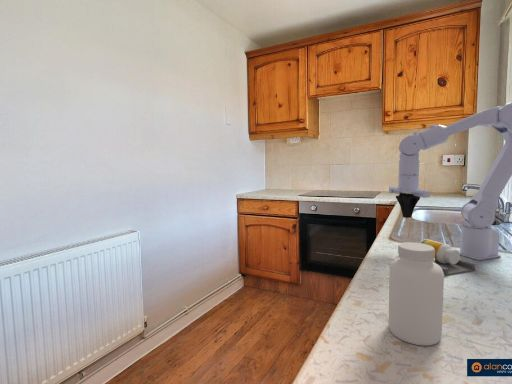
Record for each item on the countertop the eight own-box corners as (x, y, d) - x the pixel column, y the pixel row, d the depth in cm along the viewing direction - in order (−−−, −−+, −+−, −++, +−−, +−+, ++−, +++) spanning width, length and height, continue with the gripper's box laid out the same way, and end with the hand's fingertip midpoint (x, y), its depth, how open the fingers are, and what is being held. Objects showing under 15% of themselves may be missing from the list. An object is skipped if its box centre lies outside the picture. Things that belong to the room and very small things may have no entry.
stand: (437, 257, 88) (437, 252, 88) (474, 270, 78) (475, 264, 78) (410, 261, 85) (410, 256, 85) (445, 275, 75) (445, 269, 75)
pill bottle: (379, 321, 54) (381, 240, 53) (421, 319, 55) (424, 239, 53) (404, 349, 46) (407, 254, 45) (453, 345, 47) (458, 252, 45)
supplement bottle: (431, 239, 89) (463, 247, 80) (428, 256, 89) (460, 267, 80) (418, 237, 87) (449, 246, 78) (415, 256, 87) (446, 266, 78)
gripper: (382, 174, 100) (380, 214, 102) (417, 176, 86) (415, 222, 88) (399, 173, 102) (397, 213, 104) (436, 175, 89) (434, 220, 90)
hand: (407, 217), depth 96 cm, fingers closed
